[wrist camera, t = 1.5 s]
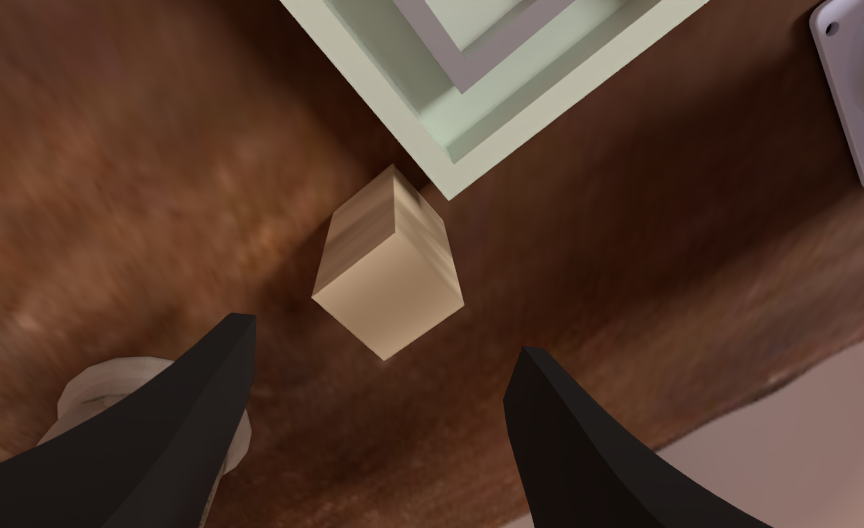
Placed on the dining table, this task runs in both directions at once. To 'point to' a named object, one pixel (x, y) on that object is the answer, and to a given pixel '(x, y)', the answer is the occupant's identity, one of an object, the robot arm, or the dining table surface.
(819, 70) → the dining table surface
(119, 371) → the mug
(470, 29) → the square tray
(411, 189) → the tan wooden block
